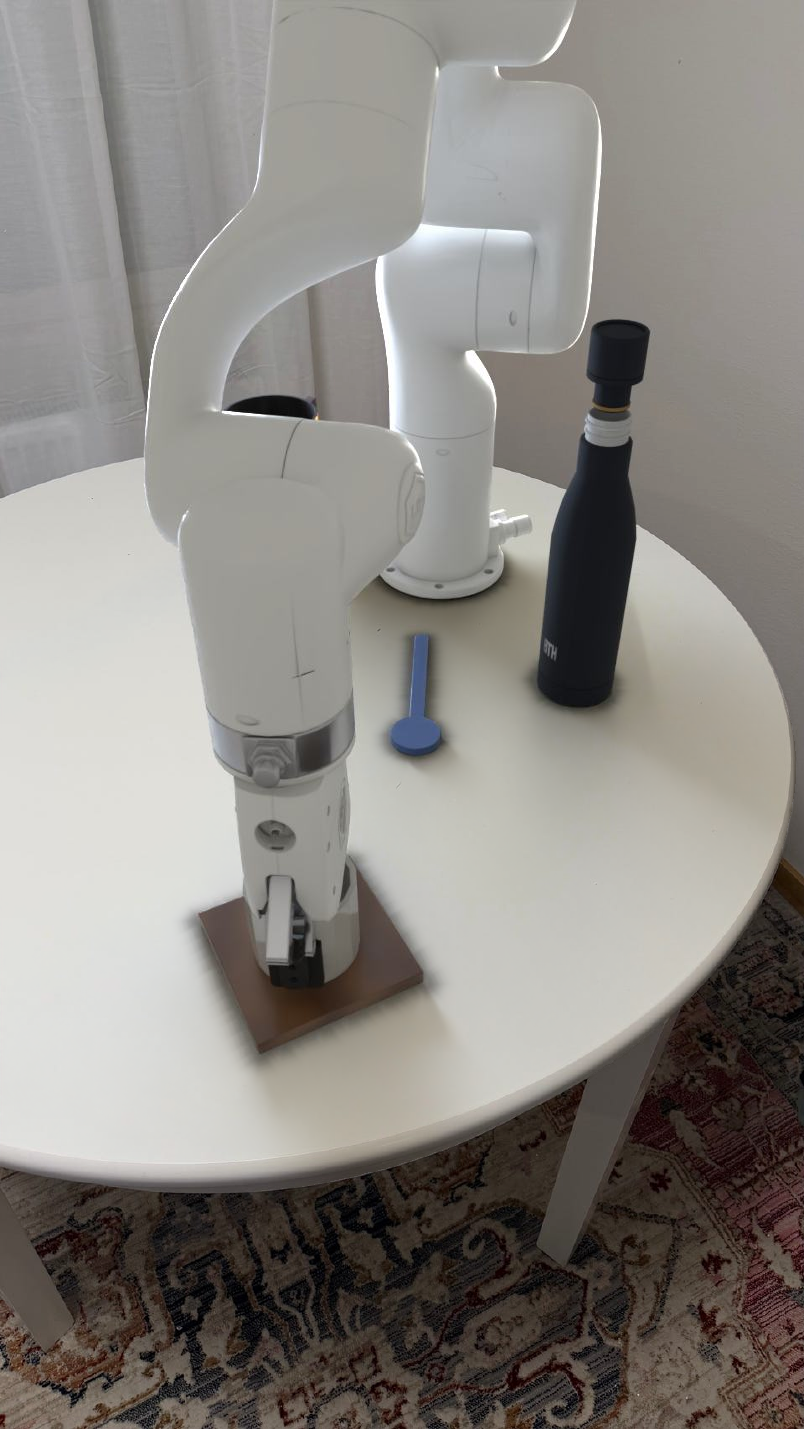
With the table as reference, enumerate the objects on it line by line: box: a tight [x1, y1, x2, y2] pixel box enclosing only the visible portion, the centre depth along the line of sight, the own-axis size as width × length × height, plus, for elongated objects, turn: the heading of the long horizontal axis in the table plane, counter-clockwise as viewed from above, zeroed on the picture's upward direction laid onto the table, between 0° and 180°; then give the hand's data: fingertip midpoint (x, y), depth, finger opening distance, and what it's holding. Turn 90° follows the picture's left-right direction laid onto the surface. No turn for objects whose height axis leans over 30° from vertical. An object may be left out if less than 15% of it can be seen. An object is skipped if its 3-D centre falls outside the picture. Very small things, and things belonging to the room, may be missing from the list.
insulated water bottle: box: [536, 318, 651, 708], centre depth 76 cm, size 6×6×30 cm
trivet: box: [197, 854, 424, 1055], centre depth 65 cm, size 11×11×1 cm
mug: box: [221, 394, 319, 420], centre depth 105 cm, size 10×14×12 cm
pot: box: [242, 853, 360, 983], centre depth 62 cm, size 7×7×6 cm
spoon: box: [390, 634, 442, 756], centre depth 85 cm, size 16×4×1 cm, turn 177°
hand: (306, 930), depth 63 cm, fingers closed on pot, 7 cm apart
